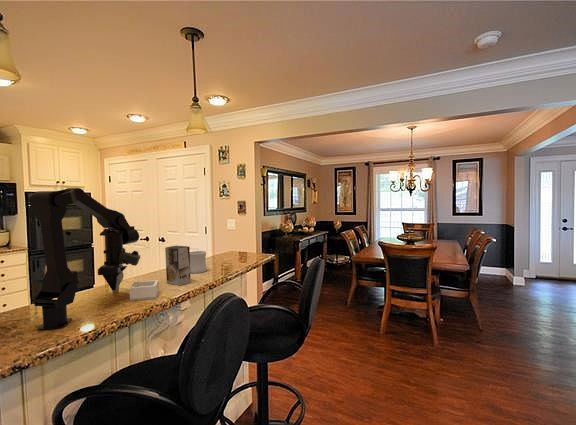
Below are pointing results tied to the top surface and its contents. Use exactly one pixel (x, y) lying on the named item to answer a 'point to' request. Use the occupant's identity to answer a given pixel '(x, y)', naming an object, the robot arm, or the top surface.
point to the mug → (197, 261)
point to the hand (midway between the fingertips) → (115, 288)
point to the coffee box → (178, 265)
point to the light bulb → (118, 283)
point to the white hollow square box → (144, 290)
